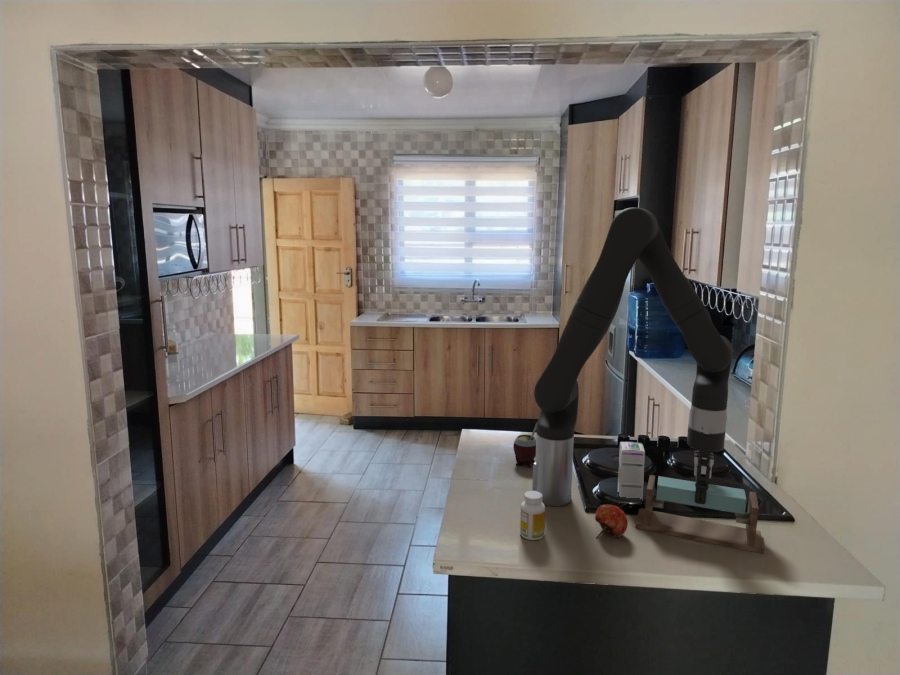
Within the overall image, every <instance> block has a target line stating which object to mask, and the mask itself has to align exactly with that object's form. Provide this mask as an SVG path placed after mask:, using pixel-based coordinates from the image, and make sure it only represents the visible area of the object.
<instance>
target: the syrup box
mask: <svg viewBox="0 0 900 675" xmlns="http://www.w3.org/2000/svg"><path fill="white" fill-rule="evenodd" d="M645 457H646V450H645V448H644V445H643V443H642V442H636V441H620V442H619V454H618V472H617V473H618V475H617V492H619V496H620V497H626V498H640V499H642V500H643V498H644V497H643V496H644V479H645V478H644V477H645V459H646V458H645Z"/></svg>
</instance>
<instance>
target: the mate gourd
mask: <svg viewBox="0 0 900 675" xmlns="http://www.w3.org/2000/svg"><path fill="white" fill-rule="evenodd" d="M535 432H537V422H536V423H535V426H534V428H533V430H532V434H519V435H517V436H516V437H515V439H514V441H513V445H512V446H513V452H514V455H515V460H516V461H515V462H516V463H515V465H516V466H523V465H525V466H526V467H528V468H531V469H532V468H533V465H532V464H534V462H535V461H536V437H535V436H534V435H535Z"/></svg>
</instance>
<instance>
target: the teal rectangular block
mask: <svg viewBox="0 0 900 675" xmlns="http://www.w3.org/2000/svg"><path fill="white" fill-rule="evenodd" d="M657 477H658V478H657V486H656V488H657V489H656V496H657V497H656V499H657V500H663V501H664V502H670V503H675V504H681V505H687V506H694V507H697V508H698V507H699V508H705V509H711V510H716V511H721V512H722V511H723V512H728V513H734V514H736V513H739V514H745V512H746V509H747V508H746V506H747V496H746V491H745V489H743V488H737V487H736V488H735V487H728V486H724V485H723V486H722V485H717V484H712V483H711V484H710V483H709V484H708V485H709V489H708V490H707V493H706V503H705V504H698V503H695V491H696V486H695V483H696V481H692V480H687V479H686V480H684V479H680V478H673V477H666V476H660V475H658V476H657Z"/></svg>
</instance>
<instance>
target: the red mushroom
mask: <svg viewBox="0 0 900 675" xmlns="http://www.w3.org/2000/svg"><path fill="white" fill-rule="evenodd" d="M624 506H625V504H621V505H620V506H617V505H613V504H610V503H609V504H601V505H600V506H598V508H597V509H596V511H595V515H594V520H595V521H596V522H597V523H598V524H599V526H600V527H601V530H600V533H598V534H597V536H596V537H595V539H598V538H599V537H600V536H601V535H602V534H603V533H604V531H605V532H607V533H608V534H611V535H612V536H613V537H616V538H619V537H622V536H623V535H624V534H625V533H626V531H627V529H628V525H629V524H628V523H629V522H628V516H627V515H626V514H625V512H624V510H623V508H624Z"/></svg>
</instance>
